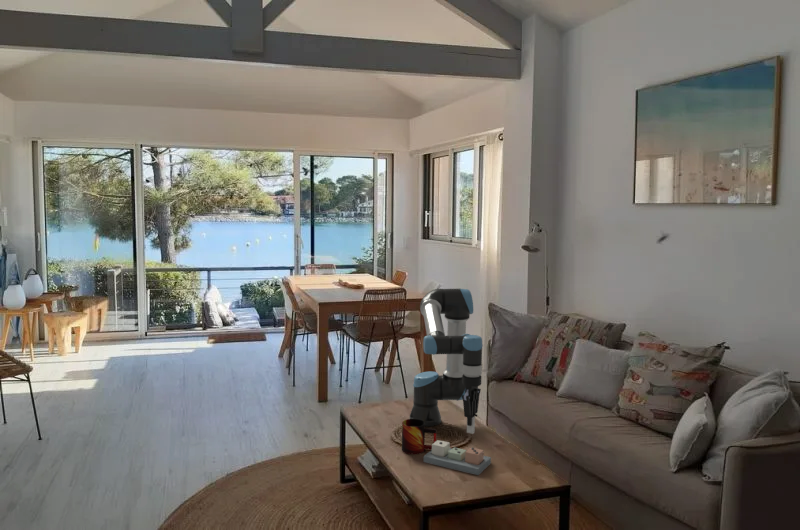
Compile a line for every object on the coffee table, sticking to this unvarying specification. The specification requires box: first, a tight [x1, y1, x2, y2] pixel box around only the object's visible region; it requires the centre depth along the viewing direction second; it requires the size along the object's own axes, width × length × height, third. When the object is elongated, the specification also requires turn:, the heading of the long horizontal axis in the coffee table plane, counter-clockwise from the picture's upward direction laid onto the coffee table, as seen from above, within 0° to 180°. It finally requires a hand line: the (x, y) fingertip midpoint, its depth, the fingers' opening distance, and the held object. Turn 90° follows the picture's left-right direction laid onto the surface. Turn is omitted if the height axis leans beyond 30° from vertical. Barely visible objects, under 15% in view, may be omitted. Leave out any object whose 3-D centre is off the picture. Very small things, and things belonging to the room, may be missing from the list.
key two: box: [448, 447, 467, 461], centre depth 262 cm, size 6×6×4 cm
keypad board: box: [423, 447, 492, 476], centre depth 262 cm, size 13×24×2 cm, turn 60°
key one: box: [431, 439, 451, 457], centre depth 265 cm, size 6×6×4 cm
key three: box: [465, 447, 485, 465], centre depth 258 cm, size 6×6×4 cm
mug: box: [401, 418, 437, 456], centre depth 274 cm, size 10×14×12 cm
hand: (470, 432), depth 257 cm, fingers closed
